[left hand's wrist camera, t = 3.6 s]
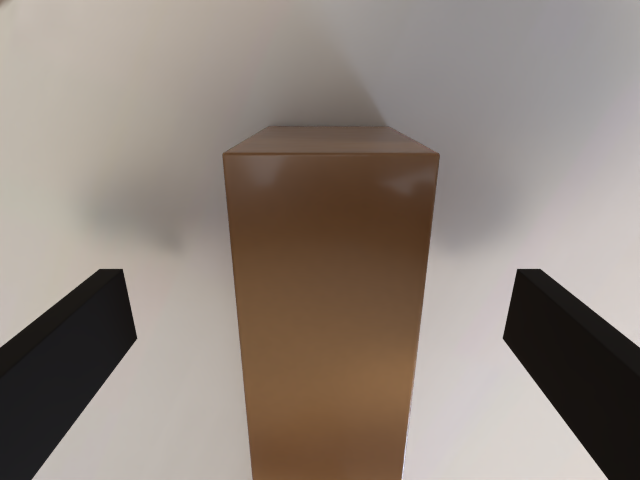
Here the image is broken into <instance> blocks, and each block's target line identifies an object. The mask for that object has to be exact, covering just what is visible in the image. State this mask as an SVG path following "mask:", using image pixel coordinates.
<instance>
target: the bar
mask: <svg viewBox="0 0 640 480" xmlns="http://www.w3.org/2000/svg"><path fill="white" fill-rule="evenodd" d="M222 156H223V167H224V178H225V188H226V199H227V210H228V221H229V231H230V242H231V253H232V263H233V274H234V285H235V295H236V306H237V317H238V327H239V338H240V349H241V360H242V370H243V381H244V392H245V402H246V413H247V424H248V434H249V445H250V456H251V467H252V477H253V480H403V472H404V463H405V454H406V446H407V437H408V428H409V419H410V411H411V402H412V393H413V385H414V376H415V367H416V358H417V350H418V341H419V332H420V324H421V315H422V306H423V297H424V289H425V280H426V271H427V262H428V254H429V245H430V236H431V228H432V219H433V210H434V201H435V193H436V184H437V175H438V167H439V158H440V155H439V153H437V152H435V151H433V150H431V149H430V148H428V147H426V146H424V145H422V144H420V143H418V142H417V141H415V140H413V139H411V138H409V137H407V136H405V135H404V134H402V133H400V132H398V131H396V130H394V129H392V128H391V127H357V126H268V127H267V128H265V129H263V130H261V131H260V132H258V133H256V134H255V135H253V136H251V137H250V138H248V139H246V140H245V141H243V142H241V143H239V144H238V145H236V146H234V147H233V148H231V149H229V150H228V151H226V152H224V153H223V155H222Z"/></svg>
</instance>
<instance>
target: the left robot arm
mask: <svg viewBox="0 0 640 480" xmlns="http://www.w3.org/2000/svg"><path fill="white" fill-rule="evenodd" d="M136 339H137V335H136V330H135V325H134V321H133V316H132V311H131V306H130V302H129V297H128V292H127V287H126V282H125V278H124V273H123V269H99V270H98V271H97V272H95V273H94V274H93V275H92V276H90V277H89V278H88V279H86V280H85V281H84V282H83V283H81V284H80V285H79V286H78V287H76V288H75V289H74V290H73V291H71V292H70V293H69V294H68V295H66V296H65V297H64V298H62V299H61V300H60V301H59V302H57V303H56V304H55V305H54V306H52V307H51V308H50V309H49V310H47V311H46V312H45V313H44V314H42V315H41V316H40V317H38V318H37V319H36V320H35V321H33V322H32V323H31V324H30V325H28V326H27V327H26V328H25V329H23V330H22V331H21V332H20V333H18V334H17V335H16V336H14V337H13V338H12V339H11V340H9V341H8V342H7V343H6V344H4V345H3V346H2V347H1V348H0V480H32V478H33V477H34V476H35V474H36V473H37V472H38V470H39V469H40V468H41V466H42V465H43V464H44V462H45V461H46V460H47V458H48V457H49V456H50V454H51V453H52V452H53V450H54V449H55V448H56V446H57V445H58V444H59V442H60V441H61V440H62V438H63V437H64V436H65V434H66V433H67V432H68V430H69V429H70V428H71V426H72V425H73V424H74V422H75V421H76V420H77V418H78V417H79V416H80V414H81V413H82V412H83V410H84V409H85V408H86V406H87V405H88V404H89V402H90V401H91V400H92V398H93V397H94V396H95V394H96V393H97V392H98V390H99V389H100V388H101V386H102V385H103V384H104V382H105V381H106V380H107V378H108V377H109V376H110V374H111V373H112V372H113V370H114V369H115V368H116V366H117V365H118V364H119V362H120V361H121V360H122V358H123V357H124V355H125V354H126V353H127V351H128V350H129V349H130V347H131V346H132V345H133V343H134V342H135V341H136ZM503 339H504V341H505V342H506V343H507V345H508V346H509V347H510V349H511V350H512V351H513V353H514V354H515V356H516V357H517V358H518V360H519V361H520V362H521V364H522V365H523V366H524V368H525V369H526V370H527V372H528V373H529V374H530V376H531V377H532V378H533V380H534V381H535V382H536V384H537V385H538V386H539V388H540V389H541V390H542V392H543V393H544V394H545V396H546V397H547V398H548V400H549V401H550V402H551V404H552V405H553V406H554V408H555V409H556V410H557V412H558V413H559V414H560V416H561V417H562V418H563V420H564V421H565V422H566V424H567V425H568V426H569V428H570V429H571V430H572V432H573V433H574V434H575V436H576V437H577V438H578V440H579V441H580V442H581V444H582V445H583V446H584V448H585V449H586V450H587V452H588V453H589V454H590V456H591V457H592V458H593V460H594V461H595V462H596V464H597V465H598V466H599V468H600V469H601V470H602V472H603V473H604V474H605V476H606V477H607V478H608V480H640V348H639V347H638V346H637V345H636V344H634V343H633V342H632V341H631V340H629V339H628V338H627V337H626V336H624V335H623V334H622V333H620V332H619V331H618V330H617V329H615V328H614V327H613V326H612V325H610V324H609V323H608V322H607V321H605V320H604V319H603V318H602V317H600V316H599V315H598V314H596V313H595V312H594V311H593V310H591V309H590V308H589V307H588V306H586V305H585V304H584V303H583V302H581V301H580V300H579V299H578V298H576V297H575V296H574V295H572V294H571V293H570V292H569V291H567V290H566V289H565V288H564V287H562V286H561V285H560V284H559V283H557V282H556V281H555V280H554V279H552V278H551V277H550V276H548V275H547V274H546V273H545V272H543V271H542V270H541V269H517V273H516V278H515V282H514V287H513V292H512V297H511V302H510V306H509V311H508V316H507V321H506V325H505V330H504V335H503Z"/></svg>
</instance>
